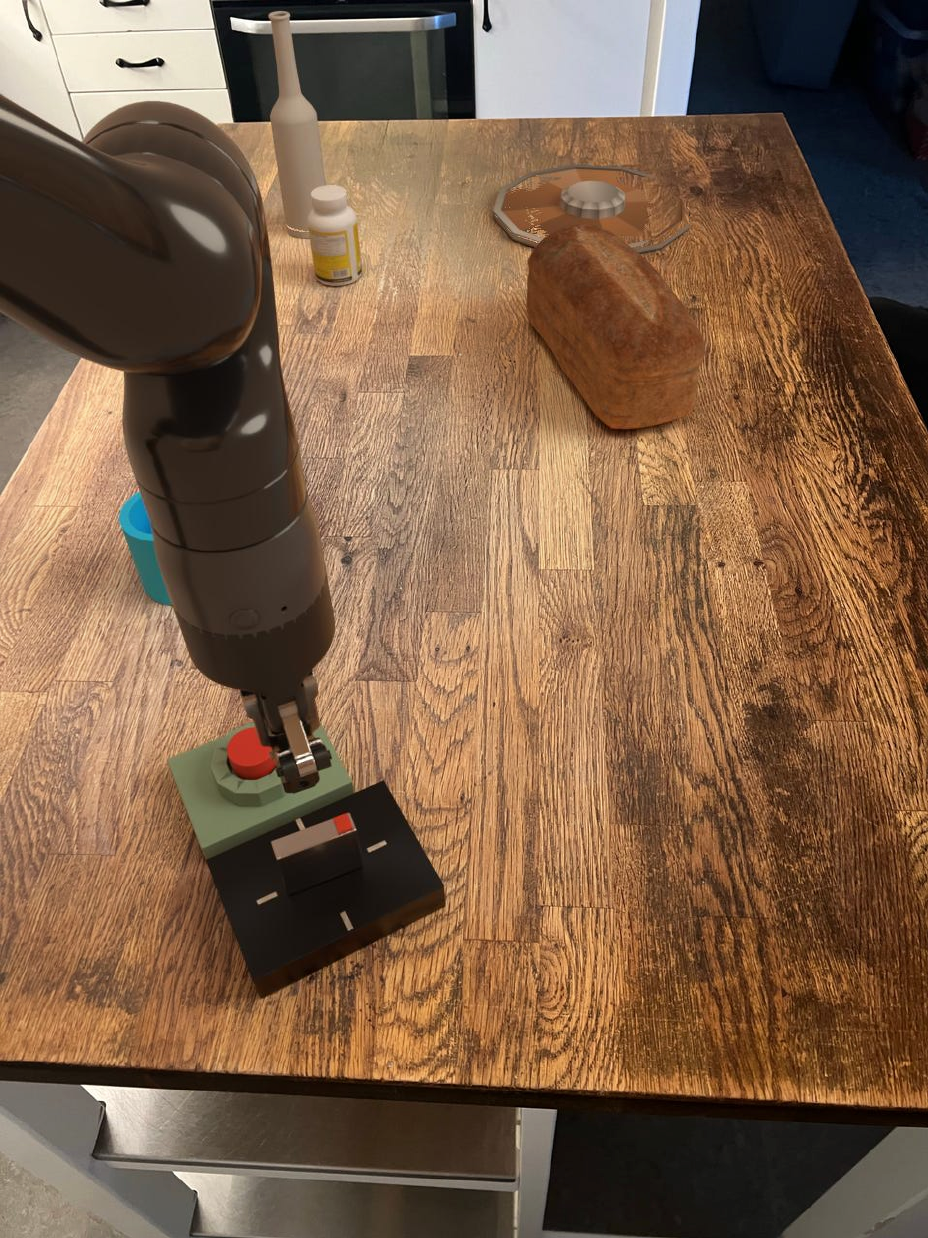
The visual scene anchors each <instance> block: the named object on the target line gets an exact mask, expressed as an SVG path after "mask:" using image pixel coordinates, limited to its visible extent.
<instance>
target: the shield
mask: <svg viewBox="0 0 928 1238" xmlns="http://www.w3.org/2000/svg"><path fill="white" fill-rule="evenodd" d="M559 171H560V172H559ZM616 171H617V172H616ZM619 171H623V172H626V173H629V174H633V175H638V176H641V177H651V178H652V177H656V176H655V175H651V174H648V173H645V172H642V171H639V170H635V169H631V168H628V167H626V166H625V167H624V166H614V165H612V166H611V165H594V164H593V165H592V164H575V163H574V164H568V165H563V166H557V167H551V168H550V167H549V168H545V169H539V170H534V171H529V172H527V173H526V174H523V175H522V176H520V177H517V178H516V179H514V180H513V181H511V182H509V183H507V184H505V185H504V186H502V187H500V188H499V190H498V193H497V197H496V200H495V203H494V206H493V209H492V219H493V220H494V221H495V222H496V223H497V224H498V225H499V227H500V228H501V229H502V230H503V231H504V232H505V233H506V234H507V235H508V236H509V237H510V238H511V240H512V241H514V242H517V243H521V244H522V245H525V246H529V247H532V248H533V249H534V248H535V247H536V246H537V245H538V244H539V243H536V242H533V241H530V240H527V239H524V238H528V239H532V240H534V241H537V242H541V240H543V239H544V238H541V237H538V236H536V235H533V234H537V232H536V233H533V234H530V232H531V229H532V228H533V227H534V228H541V229H537V230H533V231H538V230H544V231H547V232H546V233H543V234H549V235H550V234H551V233H552V232H554V231H556V230H558V229H560V228H562V227H564V226H569V225H575V224H580V225H585V224H591V225H595V226H598V227H600V228H603V229H605V230H608V231H610V232H611V233H613V234H614V235H616V236H617V237H618V238H621V237H623V236H626V237H627V236H633V235H634V236H638V235H639V234H640V235H639V236H641V233H642V232H643V230H645V229H646V228H647V227H646V228H645V229H643V228H644V227H643V226H644V225H645V224H646V223H647V222H648V220H647V221H646V222H645V220H646V219H648V218H649V217H650V216H651V214H650V215H649V216H648V212H647V211H646V210H647V208H645V209H644V207H654V205H655V204H653V203H651V204H650V202H651V200H650V199H649V198H650V197H649V198H648V199H646V198H647V197H646V196H645V195H646V194H645V193H646V192H645V193H644V192H643V191H644V190H642V191H641V188H640V189H638V188H639V187H636V188H635V187H631V185H629V186H627V185H625V186H624V185H621V184H619V183H618V182H617V180H618V179H616V180H615V177H622V175H623V173H620V172H619ZM549 173H552V174H549ZM619 173H620V175H619ZM536 175H539V176H536ZM625 176H626V175H624V176H623V177H625ZM530 177H561V179H560V180H550V181H549V182H547V183H546V184H543V183H538V184H542V186H538V187H539V188H536V189H535V190H532V191H528V190H526V189H528V188H526V189H519V188H516V189H519V190H520V191H519V190H514V191H516V192H514V191H511V190H513V189H511V188H513V187H515V186H516V185H518V184H520V183H521V182H523V181H525V180H527V179H528V178H530ZM659 181H660V180H659ZM542 182H546V181H542ZM619 182H620V181H619ZM620 185H621V186H620ZM521 188H523V187H521ZM665 188H666V187H665ZM510 189H511V190H510ZM666 189H667V188H666ZM529 190H531V189H529ZM667 190H668V189H667ZM508 191H509V192H508ZM526 191H527V192H526ZM668 191H669V192H670V193H671V194H672V195H673V196H674V197H675V198H676V199H677V200H678V210H677V219H676V222H674V223H673V224H672V225H670V226H669V227H668V228H666V229H665V230H664V231H662V232H661V233H660V234H658V235H657V236H656V237H654V238H653V239H656V238H658V237H659V236H662V235H663V234H665V233H666V232H667V231H668V230H669V229H671V228H672V227H674V226H675V225H677V224H678V223H680V222H681V221H682V218H683V201H682V200H681V199H680V198H678V197H677V196H676V195H675V194H673V193H672V192H671V191H670V190H668ZM506 192H507V193H506ZM511 192H513V193H511ZM508 193H509V194H508ZM643 193H644V194H643ZM647 196H648V195H647ZM648 200H650V201H648ZM648 202H649V203H648ZM505 207H506V208H505ZM509 207H510V208H509ZM526 207H527V208H526ZM641 207H642V208H641ZM656 207H657V206H656ZM533 208H535V209H533ZM527 209H528V211H529V213H530V214H531V215H532V216H533V217H535V218H534V219H538V221H534V222H531V221H532V220H534V219H531V217H528V216H529V215H530V214H527V212H528V211H526V210H527ZM535 210H539V211H536V212H533V213H531V211H535ZM645 211H646V212H645ZM539 212H542V213H540V214H538V213H539ZM649 212H650V211H649ZM536 214H537V215H536ZM495 215H496V216H497V217H498V218H497V217H496V216H495ZM647 216H648V217H647ZM530 219H531V220H530ZM525 220H527V221H525ZM529 222H531V223H533V224H534V225H531V223H529ZM644 222H645V223H644ZM537 225H541V226H538V227H535V226H537ZM690 226H691V223H690V224H688V225H687V226H685V227H684V228H683V229H681V230H680V231H678V232H677V233H675V234H674V235H673V236H671V237H670V238H668V239H667V240H665V241H664V242H663V243H659V244H654V245H649V246H644V247H640V248H635V249H634V250H636V251H637V252H638V253H640V254H645V253H650V252H655V251H660V250H662V249H664V248H665V247H667V246H668V245H669V244H671V243H672V242H674V241H675V240H676V239H678V238H680V237H681V236H682V235H684V234H685V233H686V232H688V231H689V230H690ZM507 228H508V229H509V230H510V231H511V232H510V231H509V230H508V229H507ZM529 228H530V229H529ZM642 229H643V230H642ZM527 230H530V231H529V232H527ZM641 230H642V231H641ZM638 232H639V233H638ZM635 234H636V235H635ZM518 236H522V237H524V238H521V237H518ZM545 236H548V235H545ZM619 236H621V237H619ZM626 237H624V238H626ZM624 238H622V239H624ZM622 239H621V240H622ZM649 240H650V239H649ZM649 240H645V241H646V242H648V241H649ZM623 241H624V240H623ZM645 241H640V242H635V243H630V244H628V245H629V246H630V247H631V248H633V247H639V246H643V245H644V243H646V242H645ZM648 243H649V242H648ZM648 243H647V244H648ZM645 245H646V244H645Z"/></svg>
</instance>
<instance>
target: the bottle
mask: <svg viewBox="0 0 928 1238" xmlns="http://www.w3.org/2000/svg"><path fill="white" fill-rule="evenodd" d="M267 16H268V19H269V20H270V25H271V26H270V27H271V31H272V39H273V40H272V41H273V46H274V53H275V60H276V69H277V70H276V71H277V83H278V90H279V91H278V93H279V94H278V98H277V100H276V102H275V104H274V105H273V107H272V109H271V112H270V115H269V121H270V125H271V132H272V139H273V147H274V154H275V159H276V160H275V161H276V166H277V173H278V180H279V188H280V194H281V200H282V209H283V214H284V219H285V220H284V221H285V225H286V224H287V225H288V226H289V227H291V228H294V229H298V230H303V231H309V229H308V221H307V219H308V215H309V213H310V212H311V210H313V209H314V207H313V206H312V202H311V192H312V191H313V190H314V189H315V188H318V187H321V186H325V185H327V182H326V175H325V174H326V173H325V167H324V160H323V159H324V158H323V151H322V144H321V143H322V142H321V137H320V136H321V135H320V128H319V121H318V114H317V113H318V112H317V111H316V109H315V108H314V106H313V105H312V104H311V102H309V100H307V98H306V97H305V96H304V95H303V94H302V93H303V92H302V91H301V85H300V80H299V79H300V78H299V75H298V70H297V63H296V56H295V50H294V44H293V43H294V42H293V36H292V27H291V22H290V18H291V14H290V12H289V11H284V10H279V11H272V12H270V13H268V15H267ZM287 225H286V226H285V227H286V232H287V233H288V234H289V235H290V236H292V237H294V238H297V239H310V236H309V232H299V231H294V230H291V229H289V228H288V227H287Z"/></svg>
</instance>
